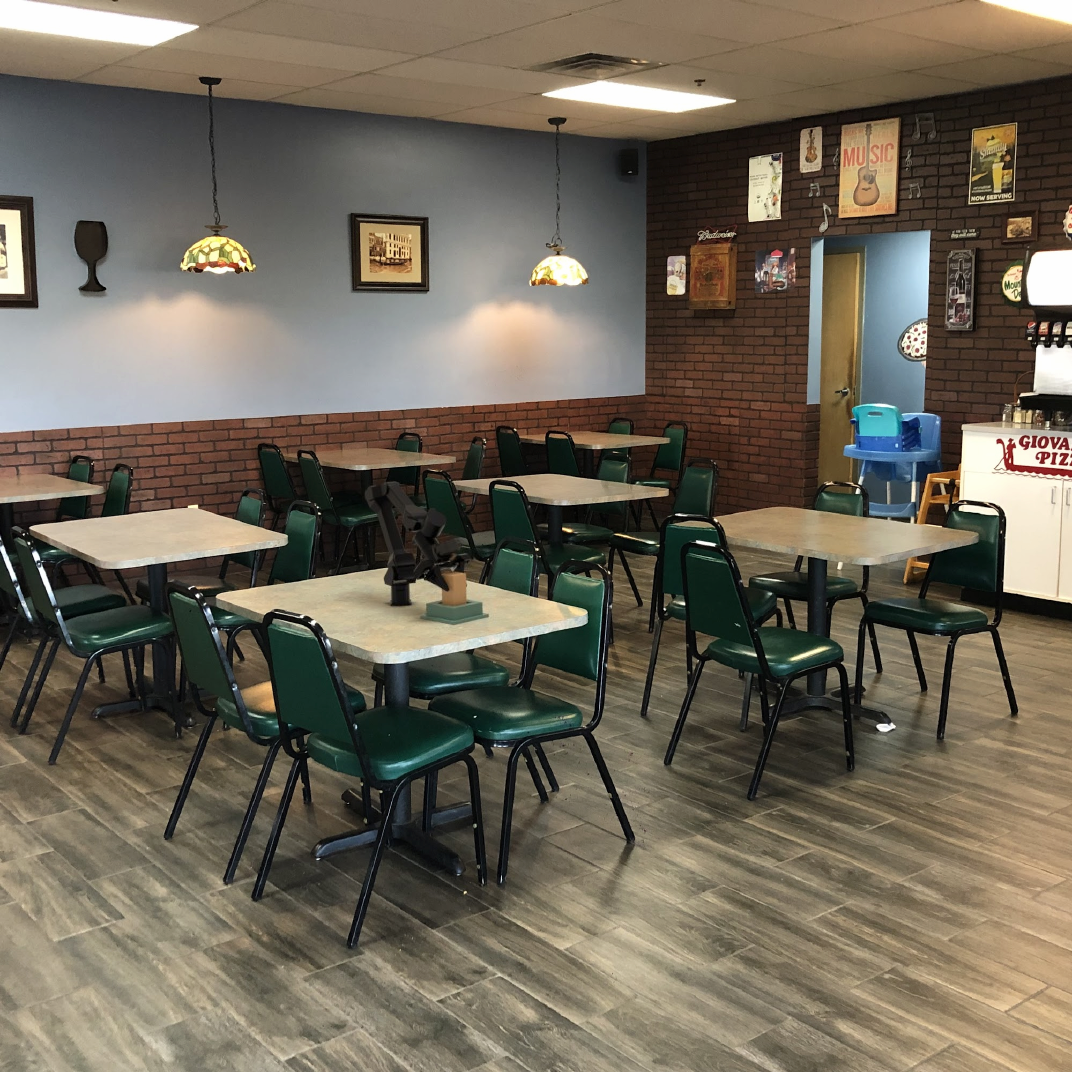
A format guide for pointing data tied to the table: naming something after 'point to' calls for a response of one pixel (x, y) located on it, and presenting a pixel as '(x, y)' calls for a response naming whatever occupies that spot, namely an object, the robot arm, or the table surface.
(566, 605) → the table surface
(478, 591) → the table surface
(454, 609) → the socket housing
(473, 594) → the table surface
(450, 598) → the plug
